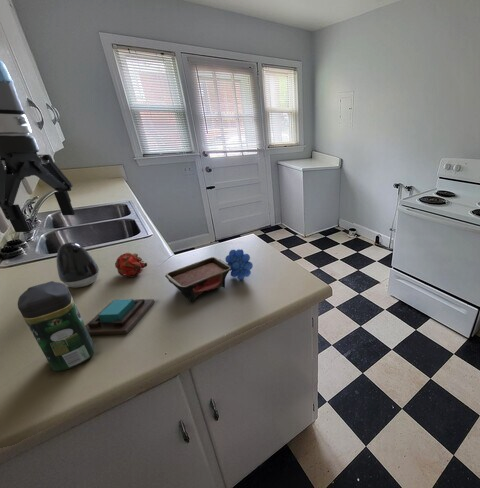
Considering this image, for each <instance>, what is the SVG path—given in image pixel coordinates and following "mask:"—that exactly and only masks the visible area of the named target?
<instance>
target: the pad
mask: <svg viewBox="0 0 480 488" xmlns="http://www.w3.org/2000/svg"><path fill="white" fill-rule="evenodd" d="M133 300H134V299H133V298H127V299H125V298H124V299H114V300H112V301H113V302H112V301H111V302H112V303H111V302H110V303H111V304H110V303H109V304H110V305H109V304H108V305H109V306H108V305H107V306H108V307H107V306H106V307H107V308H105V307H104V308H105V309H104V308H103V309H104V310H103V309H102V310H103V311H102V310H101V311H102V312H101V311H100V312H101V313H100V312H99V313H100V314H99V313H98V314H99V315H98V314H97V315H98V316H99V318H100V321H101V323H107V322H114V321H115V320H121V319H122V318H123V317H124V316H125V315H126V314H127V313H128V312H129V311H130V310H131V309H132V308H133V307H134V306H135V304H134V301H133Z"/></svg>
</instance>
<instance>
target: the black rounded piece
mask: <svg viewBox="0 0 480 488" xmlns="http://www.w3.org/2000/svg"><path fill="white" fill-rule="evenodd" d="M56 271H57V275H58V278H59V280H60V282H61V283H63V284H65V285H66V286H67V287H68V288H69V287H70V288H82V287H88V286H89V285H91V284H93V283H95V282H96V281H97V279H98V277H99V271H100V268H99V266H98V264H97V263H96V261H95V259H94V258H93V257H92V256H91V254H90V253H89V252H88V251H87V250H86V249H85V248H84V247H83V246H81V245H80V244H78V243H76V242H66V243H63V244H61V245H60V246H59V248H58V250H57V253H56Z"/></svg>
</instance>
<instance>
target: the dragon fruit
mask: <svg viewBox="0 0 480 488" xmlns="http://www.w3.org/2000/svg"><path fill="white" fill-rule="evenodd" d="M114 266H115V268H116V269H117V273H118V274H119V275H120V276H123V275H125V276H127V277H128V278H134V277H136V274H142V272H143V269H144V268H146V267H147V266H148V262H145V261H144V260H143V259H142V257H139V254H138V253H131V252H125V253H123V254H120V255H119V256H118V257H117V259H116V261H115V263H114Z"/></svg>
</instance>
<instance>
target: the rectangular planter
mask: <svg viewBox="0 0 480 488" xmlns="http://www.w3.org/2000/svg"><path fill="white" fill-rule="evenodd" d="M230 269H231V267H230V266H229V265H228V263H227V262H226V261H225V260H222V259H219V258H218V257H216V256H215V257H214V256H212V257H208V258H205V259H203V260H200V261H197V262H194V263H190V264H188V265H186V266H183V267H180V268H178V269H174V270H172V271H169V272H167V273H166V274H165V275H164V277H165V278H166V279H167V280H168V282H169V284H172V285H173V286H174V287H175V288H176V289H177V290H179V292H181V294H182V295H183V296H184V297H185V298H186V299H187V300H188V301H189V302H190V303H192V304H193V303H194V301H195V300H196V299H197V298H198V297H199V296H200V295H201V294H202V293H203V292H208V291H212V290H214V289H218V288H223V289H225V288H226V278H227V275H228V274H229V272H231V271H230Z"/></svg>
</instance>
